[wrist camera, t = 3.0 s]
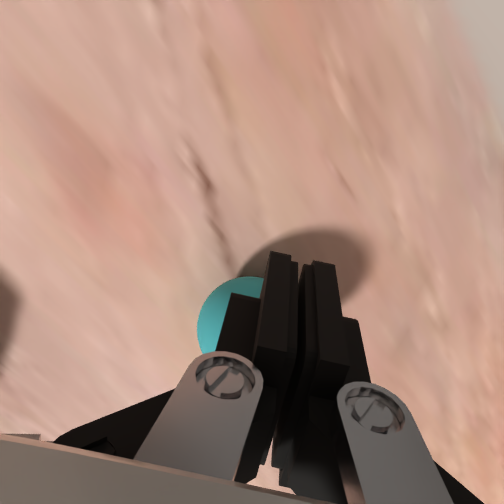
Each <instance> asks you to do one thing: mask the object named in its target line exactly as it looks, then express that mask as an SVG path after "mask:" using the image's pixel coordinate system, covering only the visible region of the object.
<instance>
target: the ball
mask: <svg viewBox="0 0 504 504" xmlns="http://www.w3.org/2000/svg"><path fill="white" fill-rule="evenodd" d="M263 280H264V278H260V277H251V276H247V277H239V278H235V279H232V280H229V281H227V282H225V283H223V284H222V285H220V286H219V287H217V288H216V289H215V290H214V291H213V292H212V293H211V294H210V295H209V297H208V298H207V299H206V301H205V302H204V304H203V306H202V308H201V311H200V314H199V318H198V323H197V336H198V341H199V345H200V348H201V351H202V353H203V354H205V353H209V352H213V351H215V349H216V346H217V342H218V339H219V335H220V331H221V328H222V324H223V321H224V317H225V313H226V310H227V306H228V302H229V299H230V295H231V292H233V293H237V294H242V295H246V296H251V297H256V298H259V297H260V293H261V289H262V284H263Z"/></svg>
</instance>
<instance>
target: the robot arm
mask: <svg viewBox="0 0 504 504" xmlns="http://www.w3.org/2000/svg"><path fill="white" fill-rule="evenodd" d="M272 438H273V445H272V460H271V466H272V467H275V468H279V469H280V471H279V486H283V487H288V488H291V489H292V490H293V492H294V493H295V494H296V495H294V494H289V493H285V492H280V491H276V490H271V489H267V488H262V487H257V486H253V485H248V484H246V483H248V482H249V481H251V480H252V479H254V478H256V476H257V472H258V469H259V465H260V464H261V465H264V464H265V462H266V458H267V455H268V452H269V448H270V445H271V441H272ZM0 504H484V503H483V502H482V501H481V500H479V499H478V498H477V497H476V496H475V495H473V494H472V493H471V492H470V491H469V490H468V489H466V488H465V487H464V486H463V485H462V484H461V483H459V482H458V481H457V480H456V479H455V478H454V477H452V476H451V475H450V474H449V473H448V472H446V471H445V470H444V469H443V468H442V467H441V466H439V465H438V464H437V463H436V462H435V461H434V460H433V459H432V457H431V455H430V452H429V450H428V448H427V446H426V444H425V442H424V440H423V438H422V435H421V433H420V431H419V429H418V427H417V425H416V423H415V421H414V419H413V416H412V414H411V412H410V411H409V409H408V408H407V406H406V405H405V404H404V403H403V402H402V401H401V400H400V399H399V398H398V397H397V396H396V395H395V394H393V393H392V392H390V391H389V390H387V389H385V388H383V387H381V386H378V385H376V384H372V383H371V380H370V376H369V371H368V366H367V361H366V356H365V351H364V347H363V342H362V337H361V332H360V327H359V323H358V320H356V319H352V318H347V317H343V316H342V309H341V303H340V296H339V290H338V283H337V277H336V270H335V265H333V264H328V263H324V262H319V261H315V260H313V262H312V264H311V265H307V264H304V265H303V268H302V272H301V275H300V279H299V282H298V262H293V261H291V255H287V254H282V253H278V252H273V251H270V255H269V259H268V263H267V267H266V272H265V276H264V280H263V284H262V289H261V293H260V297H259V298H256V297H251V296H246V295H242V294H237V293H233V292H231V295H230V299H229V302H228V306H227V310H226V313H225V317H224V321H223V324H222V328H221V331H220V335H219V339H218V342H217V346H216V349H215V351H213V352H209V353H205V354H202V355H201V356H199V357H197V358H195V359H194V361H193V362H192V363H191V364H190V365H189V367H188V368H187V370H186V372H185V373H184V375H183V377H182V378H181V380H180V382H179V383H178V385H177V387H176V388H175V389H173V390H170V391H168V392H165V393H163V394H160V395H158V396H155V397H153V398H150V399H148V400H145V401H143V402H140V403H138V404H135V405H133V406H130V407H128V408H125V409H123V410H120V411H118V412H115V413H112V414H110V415H107V416H105V417H102V418H100V419H97V420H95V421H92V422H90V423H87V424H85V425H82V426H80V427H77V428H75V429H72V430H70V431H69V432H67V433H65V434H63V435H61V436H59V437H58V438H57V439H56V440H55V441H41V434H0Z"/></svg>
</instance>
